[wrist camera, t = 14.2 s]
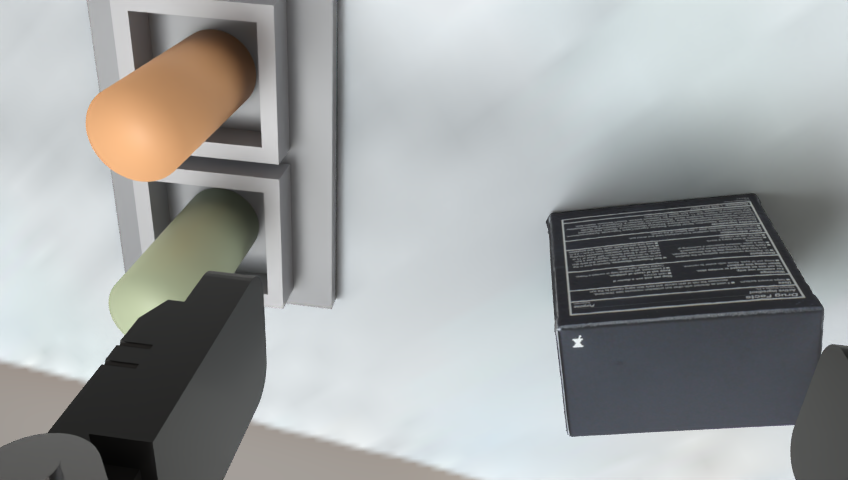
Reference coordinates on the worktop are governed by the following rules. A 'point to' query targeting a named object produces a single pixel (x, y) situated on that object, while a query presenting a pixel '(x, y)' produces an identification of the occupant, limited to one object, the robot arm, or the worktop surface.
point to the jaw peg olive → (186, 254)
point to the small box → (680, 318)
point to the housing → (244, 134)
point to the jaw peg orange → (170, 105)
